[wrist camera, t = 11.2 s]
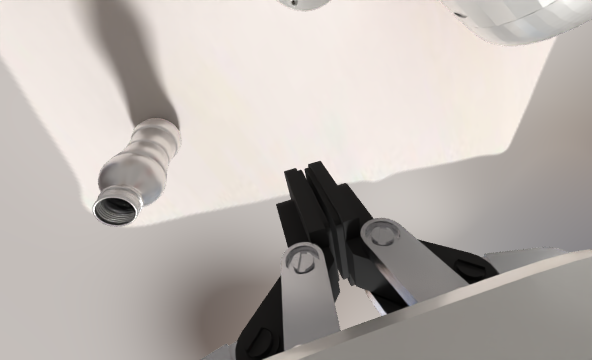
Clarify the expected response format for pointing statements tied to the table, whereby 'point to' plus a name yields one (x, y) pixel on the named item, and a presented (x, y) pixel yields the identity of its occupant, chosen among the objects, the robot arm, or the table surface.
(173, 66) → the table surface
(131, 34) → the table surface
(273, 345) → the robot arm
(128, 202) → the plastic bottle
